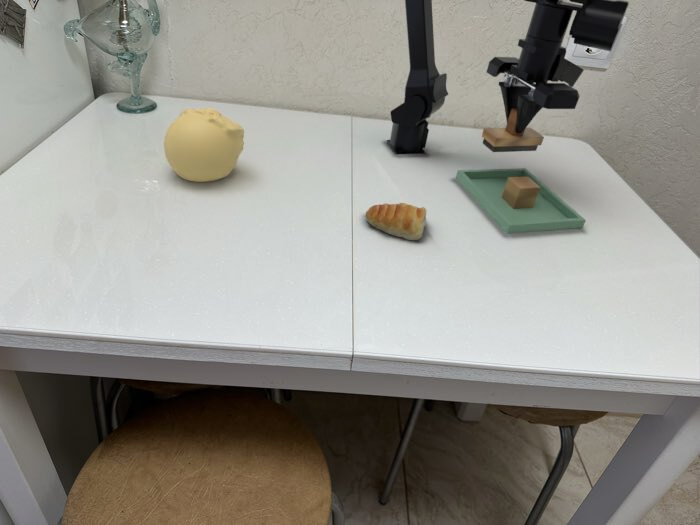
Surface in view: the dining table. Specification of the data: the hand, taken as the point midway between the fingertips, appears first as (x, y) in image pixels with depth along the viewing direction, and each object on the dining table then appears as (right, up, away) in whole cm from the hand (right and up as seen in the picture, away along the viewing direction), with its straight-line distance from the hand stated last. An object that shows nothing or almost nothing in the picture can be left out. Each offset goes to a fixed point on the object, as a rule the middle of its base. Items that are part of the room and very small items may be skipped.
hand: (514, 129), depth 88 cm
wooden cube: (0, -13, -2) cm, 13 cm away
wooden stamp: (0, -3, +2) cm, 3 cm away
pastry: (-22, -19, -11) cm, 31 cm away
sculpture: (-54, -9, -4) cm, 55 cm away
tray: (0, -13, -1) cm, 13 cm away
